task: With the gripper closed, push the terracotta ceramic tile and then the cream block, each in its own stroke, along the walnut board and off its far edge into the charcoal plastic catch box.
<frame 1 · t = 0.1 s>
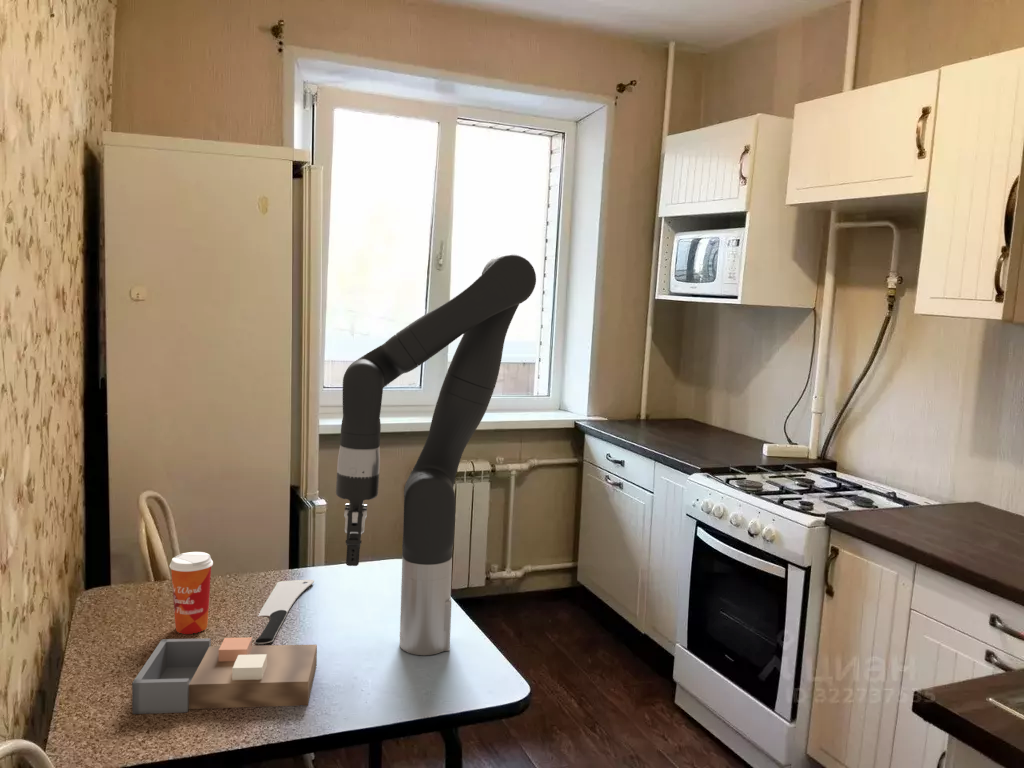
hand: (353, 557, 143), 17 cm above the table, tool pointing down, fingers open, 8 cm apart
cream block: (249, 672, 126), point 4 cm above the table, touching walnut board
catch box: (174, 688, 127), on the table
walnut board: (256, 686, 129), on the table
paper cup: (192, 629, 150), on the table
terracotta tile: (235, 654, 131), point 4 cm above the table, touching walnut board
kitchen cleaver: (274, 613, 160), on the table
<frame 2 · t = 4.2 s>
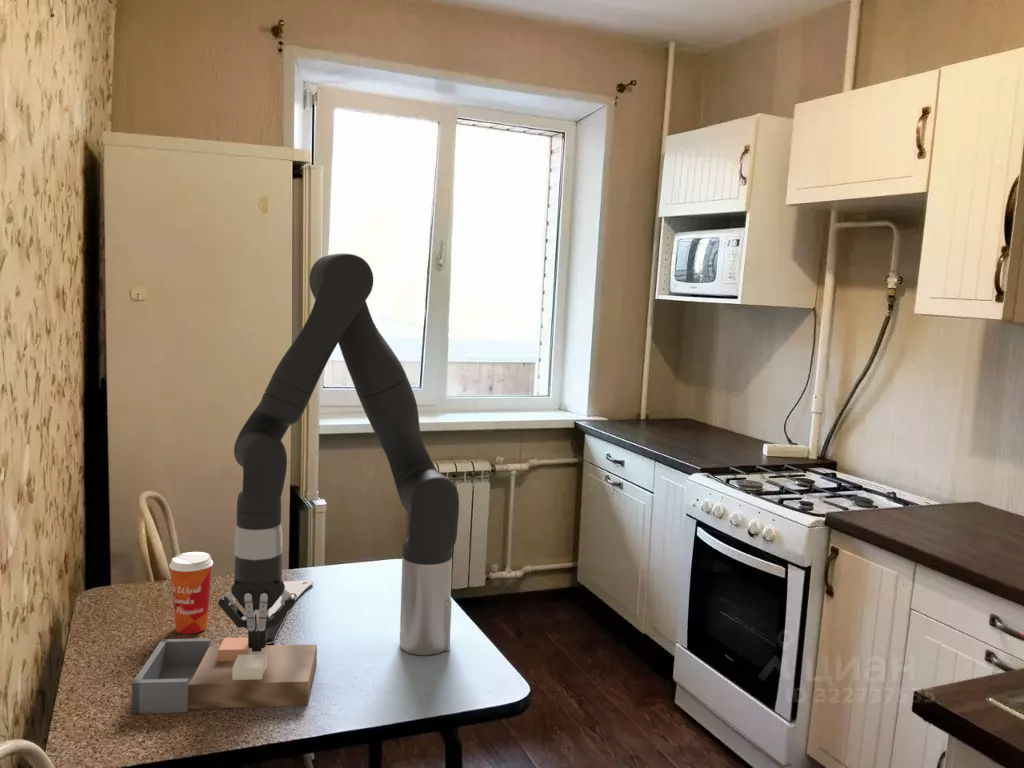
hand: (257, 649, 132), 5 cm above the table, tool pointing down, fingers closed
terracotta tile: (235, 654, 131), point 4 cm above the table, touching gripper
everything else where it was.
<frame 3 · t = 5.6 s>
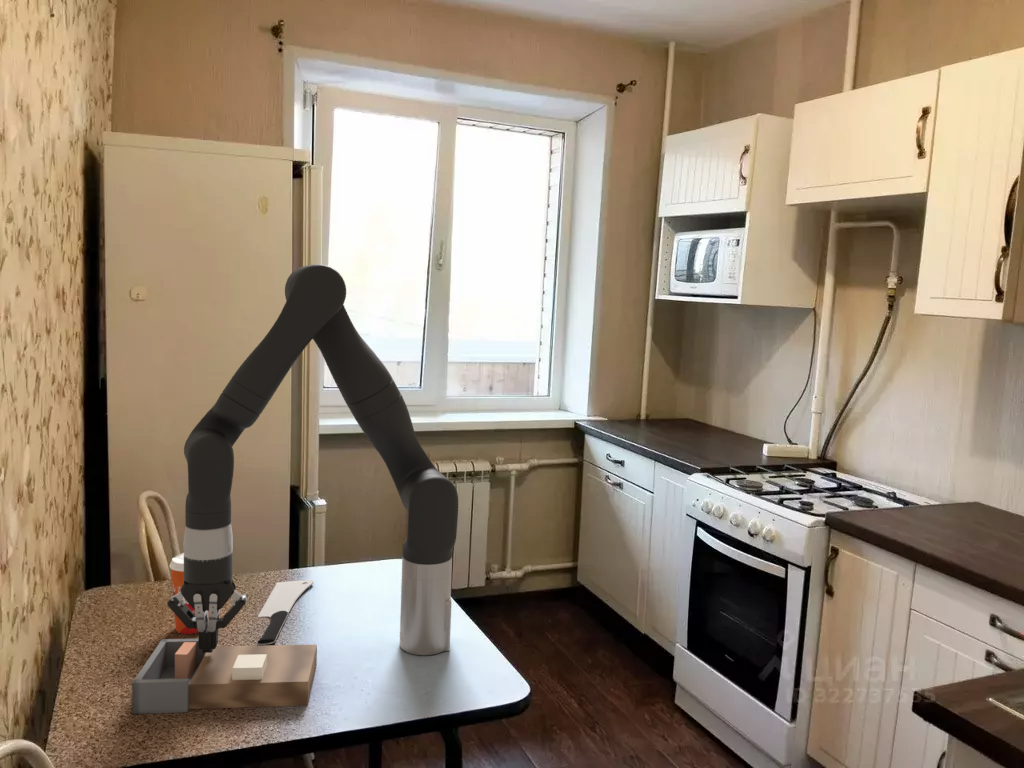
hand: (208, 650, 131), 5 cm above the table, tool pointing down, fingers closed
terracotta tile: (191, 661, 131), point 3 cm above the table, tilted 90°, touching catch box
everything else where it was.
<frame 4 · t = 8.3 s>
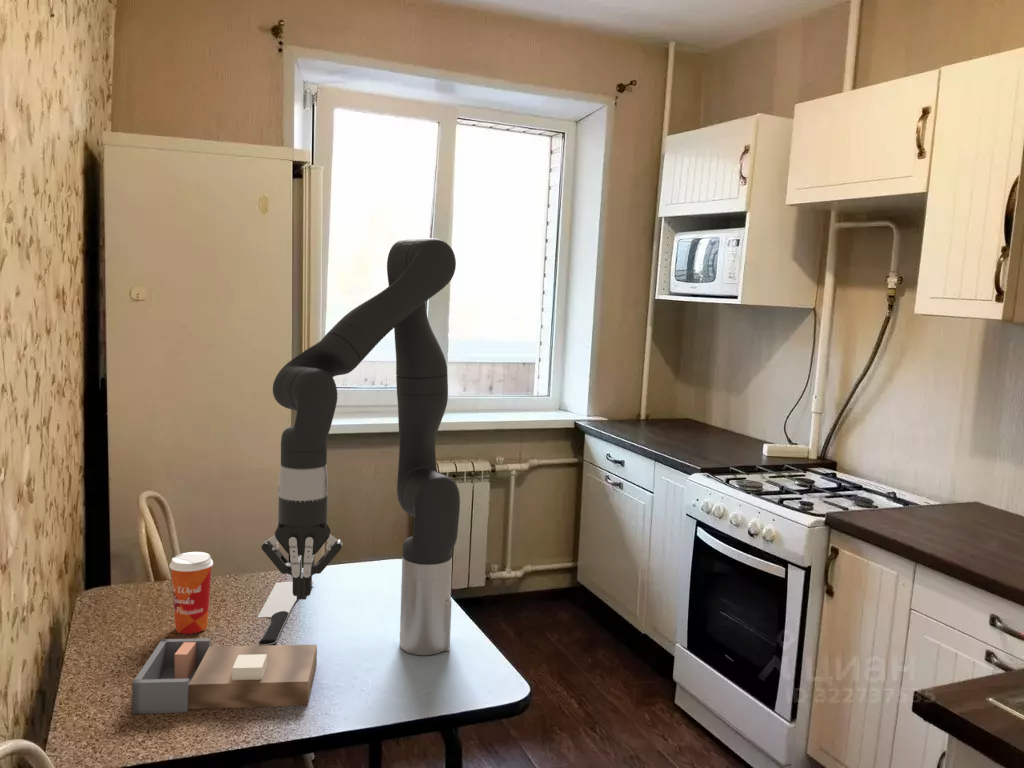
hand: (301, 597, 125), 16 cm above the table, tool pointing down, fingers closed
nothing on the table moved.
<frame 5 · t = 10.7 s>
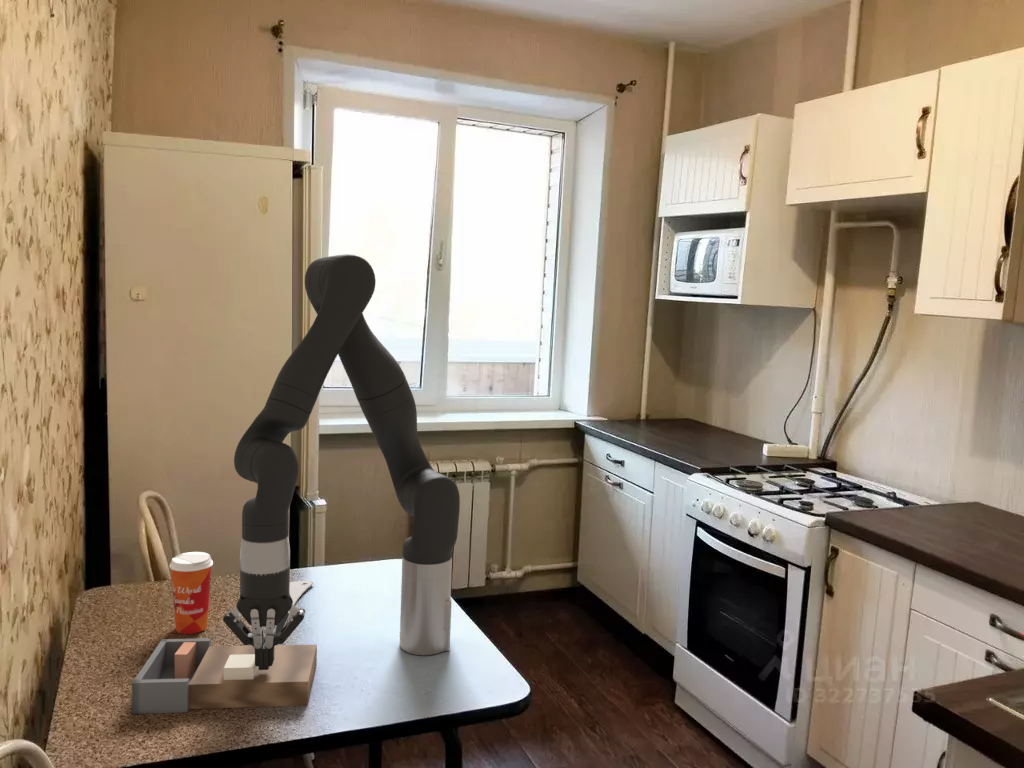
hand: (264, 667, 126), 5 cm above the table, tool pointing down, fingers closed
cream block: (241, 672, 126), point 4 cm above the table, touching gripper
everything else where it was.
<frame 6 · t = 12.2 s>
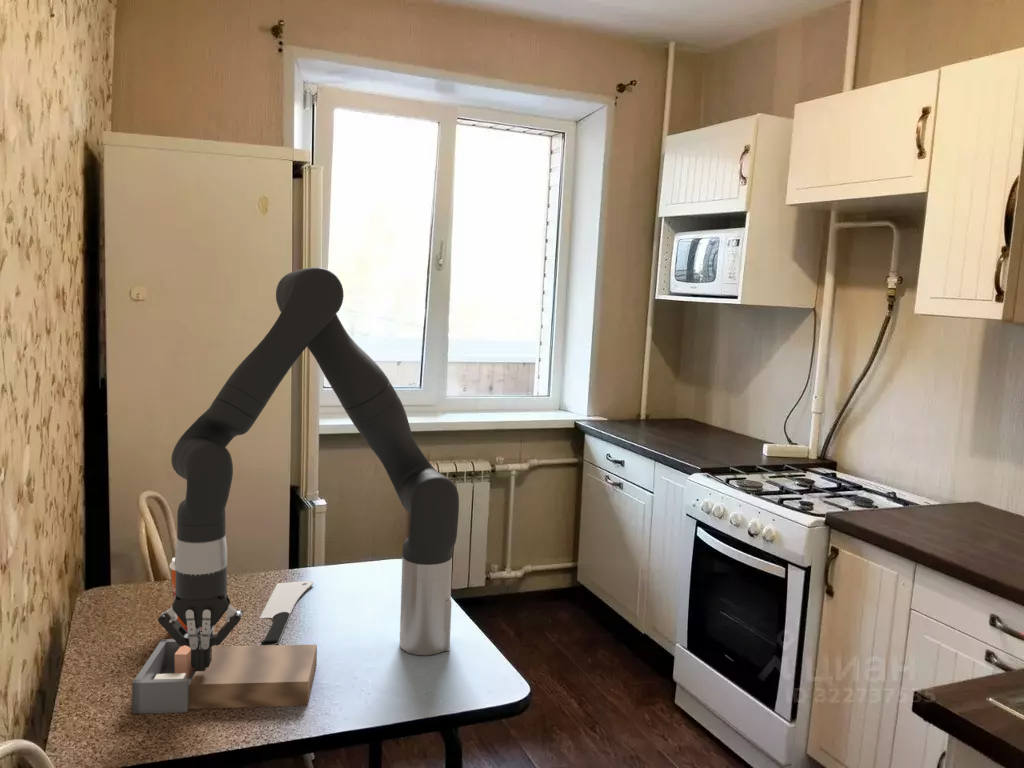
hand: (201, 668, 124), 5 cm above the table, tool pointing down, fingers closed
cream block: (167, 680, 125), point 2 cm above the table, tilted 180°, touching catch box
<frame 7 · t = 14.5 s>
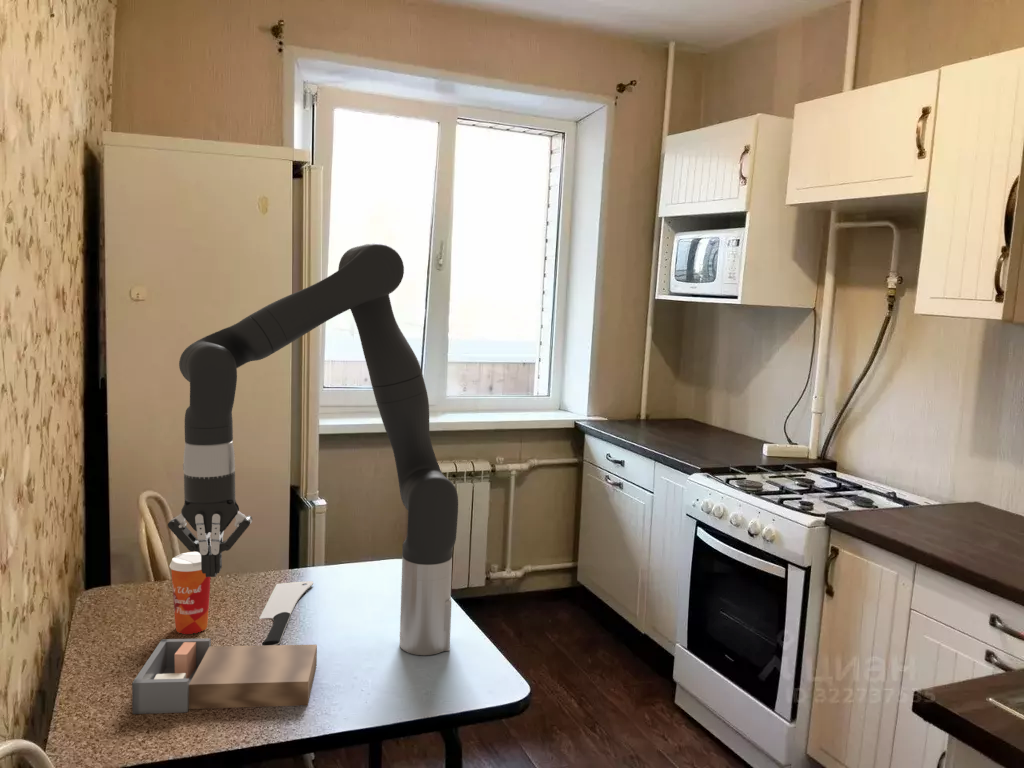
hand: (211, 575, 125), 20 cm above the table, tool pointing down, fingers closed
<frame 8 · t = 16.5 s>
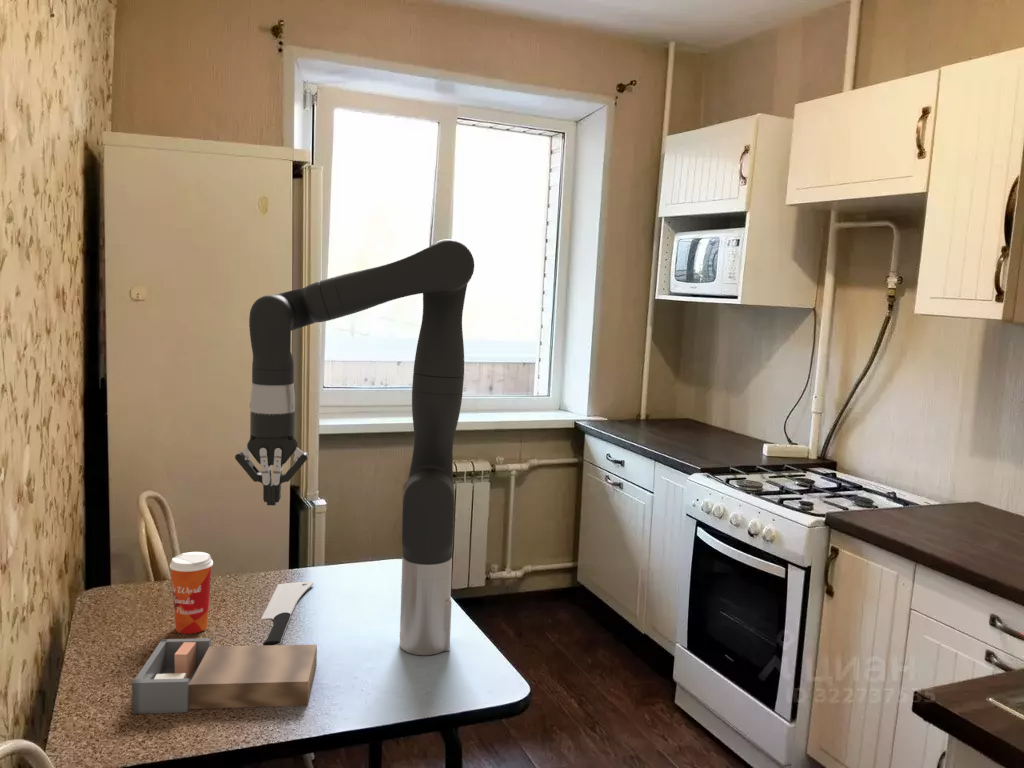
hand: (271, 504, 140), 27 cm above the table, tool pointing down, fingers closed
at the end: terracotta tile inside the target area (4.3 cm from its centre), point 2.6 cm above the table; cream block inside the target area (2.0 cm from its centre), point 2.4 cm above the table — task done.
